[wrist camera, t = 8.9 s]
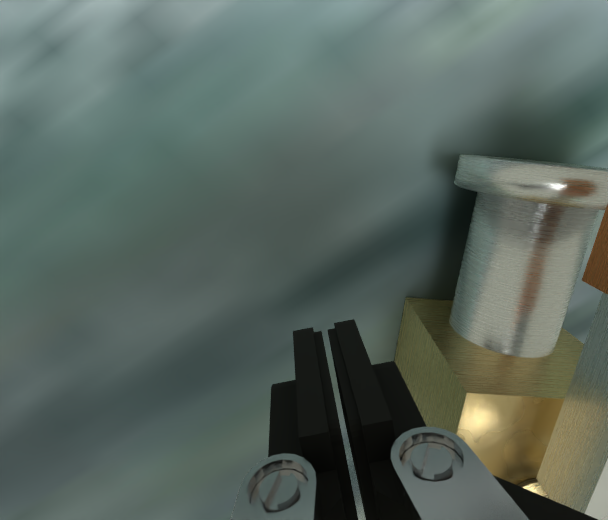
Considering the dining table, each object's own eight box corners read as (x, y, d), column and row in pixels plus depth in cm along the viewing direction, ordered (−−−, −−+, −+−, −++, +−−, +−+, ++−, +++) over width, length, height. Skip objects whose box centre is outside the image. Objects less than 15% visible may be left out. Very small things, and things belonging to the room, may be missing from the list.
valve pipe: (364, 527, 26) (394, 706, 18) (432, 151, 19) (536, 170, 11) (468, 531, 27) (544, 710, 18) (576, 163, 19) (784, 191, 11)
